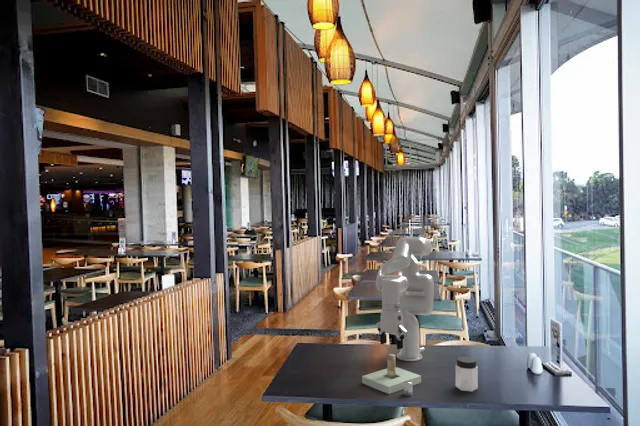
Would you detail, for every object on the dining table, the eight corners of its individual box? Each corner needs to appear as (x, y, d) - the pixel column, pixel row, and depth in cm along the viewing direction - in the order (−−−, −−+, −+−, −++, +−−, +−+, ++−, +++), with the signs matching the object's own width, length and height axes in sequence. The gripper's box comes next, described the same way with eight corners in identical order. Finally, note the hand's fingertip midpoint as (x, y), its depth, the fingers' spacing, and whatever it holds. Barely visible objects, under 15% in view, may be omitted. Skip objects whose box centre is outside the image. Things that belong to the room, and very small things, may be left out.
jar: (455, 390, 200) (455, 361, 200) (455, 383, 207) (455, 355, 207) (478, 392, 197) (477, 363, 197) (477, 385, 205) (477, 357, 205)
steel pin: (407, 391, 199) (407, 379, 198) (414, 394, 196) (414, 382, 196) (402, 394, 196) (402, 381, 196) (408, 396, 194) (408, 384, 194)
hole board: (393, 372, 221) (393, 366, 221) (421, 382, 209) (421, 375, 209) (362, 383, 209) (362, 376, 209) (389, 394, 196) (388, 386, 196)
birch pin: (391, 380, 211) (391, 353, 211) (397, 383, 209) (397, 355, 208) (385, 382, 209) (385, 355, 209) (391, 384, 206) (391, 357, 206)
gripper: (412, 309, 204) (412, 349, 205) (382, 302, 217) (383, 339, 218) (400, 312, 199) (400, 353, 200) (370, 305, 213) (371, 343, 214)
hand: (391, 346), depth 209 cm, fingers open, 9 cm apart
